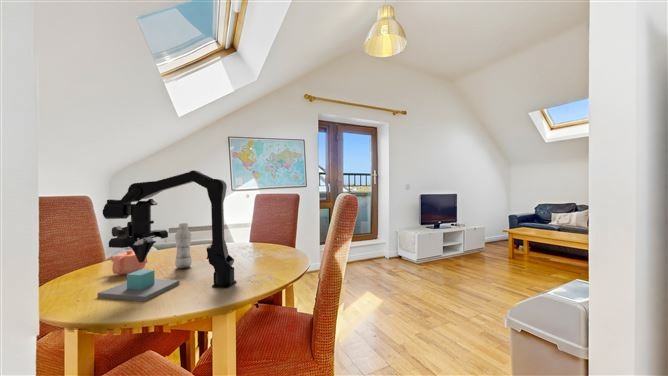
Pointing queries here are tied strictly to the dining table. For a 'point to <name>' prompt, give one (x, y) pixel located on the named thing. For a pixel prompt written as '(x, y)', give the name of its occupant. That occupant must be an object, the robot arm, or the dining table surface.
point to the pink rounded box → (126, 263)
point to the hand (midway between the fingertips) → (141, 262)
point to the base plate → (138, 291)
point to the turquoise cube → (140, 279)
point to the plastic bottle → (183, 246)
